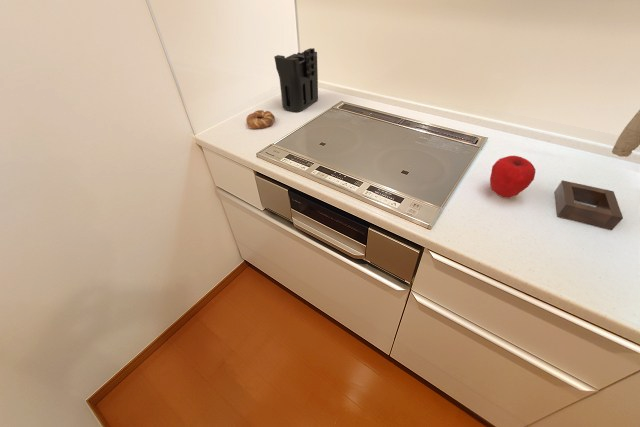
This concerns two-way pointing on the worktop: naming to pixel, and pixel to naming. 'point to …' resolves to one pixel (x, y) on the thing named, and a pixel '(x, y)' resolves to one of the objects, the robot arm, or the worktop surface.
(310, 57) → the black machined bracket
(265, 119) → the brown bagel
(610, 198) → the socket block
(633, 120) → the handle
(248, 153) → the worktop surface
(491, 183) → the apple
